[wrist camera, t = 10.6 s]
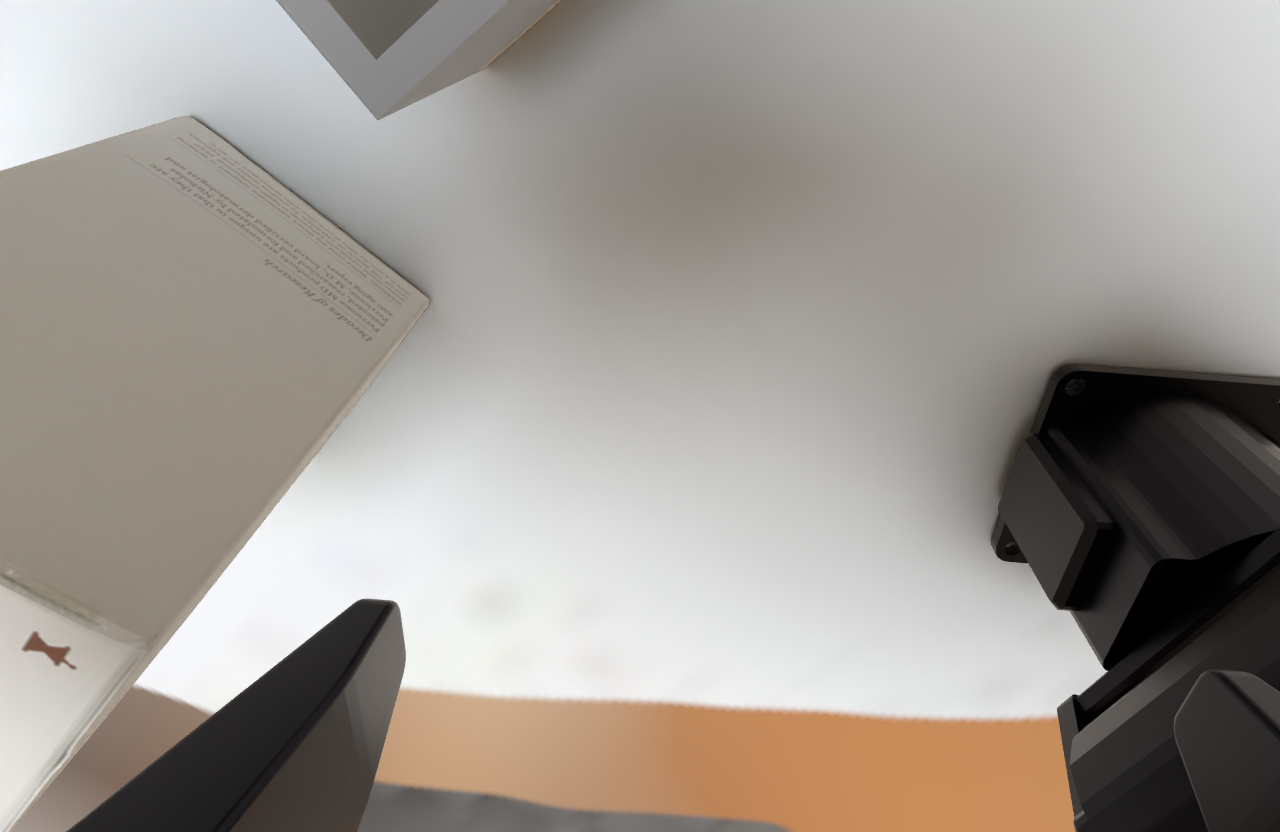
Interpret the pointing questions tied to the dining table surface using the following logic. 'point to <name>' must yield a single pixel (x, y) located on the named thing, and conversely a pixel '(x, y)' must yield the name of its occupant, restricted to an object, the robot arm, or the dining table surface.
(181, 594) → the supplement box
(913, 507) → the dining table surface
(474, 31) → the carton
